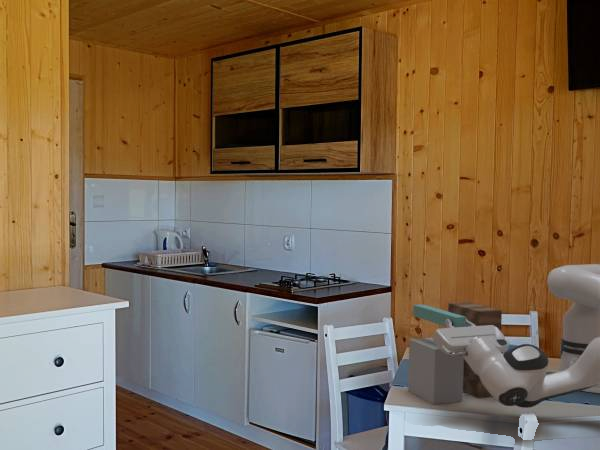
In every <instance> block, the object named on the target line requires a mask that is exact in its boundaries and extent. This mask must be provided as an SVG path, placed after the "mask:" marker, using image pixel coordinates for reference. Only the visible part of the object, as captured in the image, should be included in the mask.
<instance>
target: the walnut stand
mask: <svg viewBox="0 0 600 450" xmlns="http://www.w3.org/2000/svg"><path fill="white" fill-rule="evenodd" d="M447 311H448V312H451V313H454V314H458V315H461V316H465V317H466V319H467V320H468V321H469V322H471V323H473V324H475V325H476V326H485V325H493V326H495V327H497V328H498V329H499V330H500V331H501V332H502V319H503V317H502V313H503V311H502V310H501V309H499V308H493V307H489V306H485V305H481V304H478V303H473V302H470V301H467V302H464V301H463V302H449V303H448V310H447ZM463 393H466V394H468V395H469V396H472V397H474V398H477V399H479V398H481V399H482V398H489V397H493V396H492V395H491V394H490V393H489V392H488V390H487V389H486V388H485V387H484V385H483V384H482V382H481V380H480V377H479V376H478V375H477V374H475V373H474V372H473V370H472V369H471V368H470V366H469V365H468V363H467V362H466V361H465V359H464V369H463Z"/></svg>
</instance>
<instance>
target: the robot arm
mask: <svg viewBox="0 0 600 450" xmlns="http://www.w3.org/2000/svg"><path fill="white" fill-rule="evenodd" d="M546 284H547V287H548V290H549V291H550V293H551V295H553V296H554V297H556V298H560V299H563V300H568V301H571V302H573V303H572V305H571V306H570V308H569V309H567V310H566V312H564V315H563V321H562V338H561V341H560V356H561V358H560V364H559V368H558V371H555V372H553V373H548V374H547V372H548V367H549V357H548V356H547V354H546V353H545V352H544V350H543V349H541V348H539V347H538V346H536V345H534V344H530V343H523V344H519V345H518V344H517V345H518V346H516V347H514V348H511V349H509V350H508V348H509V346H510V345H511V343H510V341H509V340H508V339H507V338H506V337H505V335H504V334H503V332H502V330H501V331H500V330H499V329H498V328H497V327H495V326H493V325H485V326H476V325H475V324H473V323H471V322H469V321H468V320H467V319H466V327H454V326H452V324H453V323H454V322H453V321H452V319H446V321H445V324H446V326H447V327H445V328H444V327H443V328H436V329H435V332H434V333H433V337H432V338H433V341H434V342H435V343H436V345H437V346H438V347H439V348H440V349H441V350H442V351H443V352H444V353H445V354H447V355H451V356H452V357H456V356H463V357H464V359H465V361H466V362H467V363H468V365H469V366H470V368H471V369H472V370H473V372H474V373H475V374H477V375H478V376H479V377H480V380H481V382H482V384H483V385H484V387H485V388H486V389H487V390H488V392H489V393H490V394H491V395H492V396H491V397H492V398H494V400H496V401H497V402H498V403H499V404H501V405H503V406H506V407H515V406H516V407H518V408H523V409H525V408H527V409H528V408H533V407H535V406H537V405H539V404H541V403H542V402H545V401H547V400H550V399H553V398H558V397H562V396H565V395H566V396H567V395H570V394H573V393H577V392H588V393H594V394H600V263H599V264H598V263H589V264H588V263H587V264H567V265H562V266H559V267H555V268H553V269H551V271H550V272H549V274H548V275H547V283H546Z"/></svg>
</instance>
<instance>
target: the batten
mask: <svg viewBox="0 0 600 450" xmlns="http://www.w3.org/2000/svg"><path fill="white" fill-rule="evenodd" d="M412 310H413V312H412V316H413V317H415V318H418V319H421V320H424V321H426V322H427V321H428V322H429V323H433V324H436V325H439V326H442V327H445V328H447V326H446V324H445V321H446V319H452V321H453V322H454V323H453V324H452V326H454V327H466V317H465V316H461V315H458V314H454V313H451V312H448V310H444V309H440V308H437V307H434V306H429V305H426V304H423V303H422V304H413V309H412Z"/></svg>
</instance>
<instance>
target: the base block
mask: <svg viewBox="0 0 600 450" xmlns="http://www.w3.org/2000/svg"><path fill="white" fill-rule="evenodd" d="M408 340H409V343H408V381H407V382H408V383H407V385H408V386H407V391H408V392H410V393H412V394H413V395H416V397H419V398H421V399H423V400H424V401H426V402H429V403H430V404H432V405H441V404H448V403H449V404H450V403H457V402H463V401H464V391H463V369H464V357H463V356H456V357H452V356H451V355H447V354H445V353H444V352H443V351H442V350H441V349H440V348H439V347H438V346H437V345H436V343H435V342H434V341H433V337H421V338H409V339H408Z"/></svg>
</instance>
